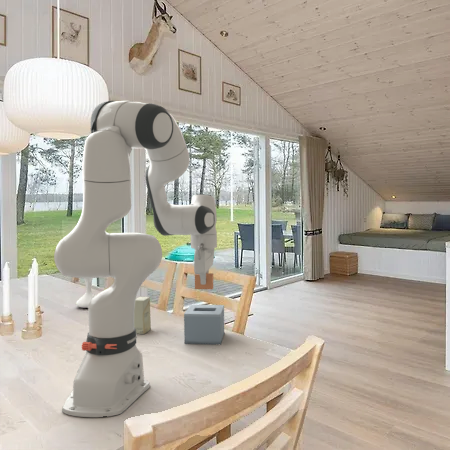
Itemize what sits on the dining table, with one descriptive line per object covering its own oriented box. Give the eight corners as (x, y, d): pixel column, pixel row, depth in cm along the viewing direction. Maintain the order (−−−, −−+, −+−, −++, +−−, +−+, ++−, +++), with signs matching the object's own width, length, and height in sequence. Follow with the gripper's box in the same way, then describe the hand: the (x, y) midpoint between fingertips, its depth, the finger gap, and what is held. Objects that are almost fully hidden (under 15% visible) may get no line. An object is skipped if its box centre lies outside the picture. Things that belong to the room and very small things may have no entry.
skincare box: (144, 334, 144) (143, 300, 144) (132, 333, 145) (132, 300, 145) (151, 329, 151) (150, 296, 150) (139, 328, 152) (139, 296, 151)
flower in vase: (81, 303, 191) (80, 250, 190) (105, 303, 190) (104, 250, 189) (70, 310, 178) (68, 253, 177) (95, 310, 177) (94, 253, 176)
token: (212, 289, 137) (212, 274, 137) (194, 289, 138) (194, 274, 138) (213, 287, 140) (213, 273, 139) (196, 287, 140) (195, 273, 140)
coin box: (220, 344, 133) (220, 314, 133) (184, 343, 134) (184, 313, 134) (224, 332, 145) (224, 305, 145) (191, 332, 146) (190, 304, 146)
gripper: (208, 245, 127) (209, 289, 128) (216, 239, 148) (217, 277, 148) (188, 245, 128) (189, 289, 129) (199, 239, 148) (199, 277, 149)
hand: (204, 282), depth 139 cm, fingers closed on token, 2 cm apart
